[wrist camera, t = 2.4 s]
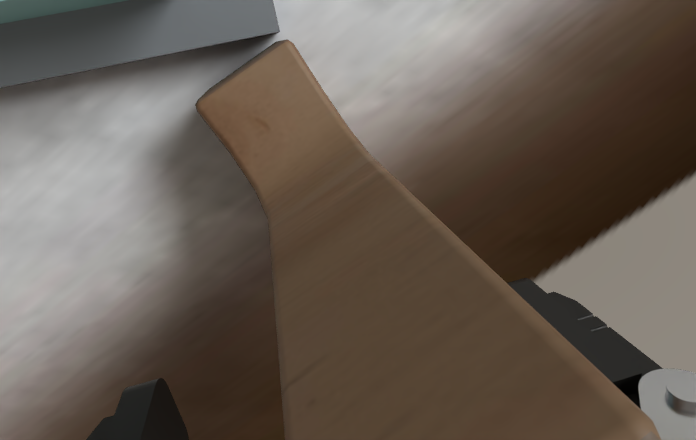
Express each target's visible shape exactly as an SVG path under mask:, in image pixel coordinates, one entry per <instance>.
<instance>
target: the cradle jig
mask: <svg viewBox="0 0 696 440" xmlns="http://www.w3.org/2000/svg"><path fill="white" fill-rule="evenodd" d="M278 32H280V30H279V26H278V21H277V17H276V12H275V8H274V3H273V0H0V88H3V87H8V86H13V85H18V84H23V83H28V82H33V81H38V80H43V79H48V78H53V77H58V76H63V75H68V74H73V73H78V72H83V71H88V70H93V69H99V68H104V67H109V66H114V65H119V64H124V63H129V62H134V61H139V60H144V59H149V58H154V57H159V56H164V55H169V54H174V53H179V52H184V51H189V50H194V49H199V48H204V47H209V46H214V45H219V44H224V43H229V42H234V41H239V40H244V39H249V38H254V37H259V36H264V35H269V34H274V33H278Z"/></svg>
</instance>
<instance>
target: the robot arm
mask: <svg viewBox="0 0 696 440" xmlns="http://www.w3.org/2000/svg"><path fill="white" fill-rule="evenodd" d="M507 284H508V285H509V286H510V287H511V288H512V289H513V290H514V291H516V292H517V293H518V294H519V295H520V296H521V297H522V298H523V299H524V300H525V301H526V302H527V303H528V304H529V305H530V306H531V307H533V308H534V309H535V310H536V311H537V312H538V313H539V314H540V315H541V316H542V317H543V318H544V319H545V320H546V321H547V322H548V323H550V324H551V325H552V326H553V327H554V328H555V329H556V330H557V331H558V332H559V333H560V334H561V335H562V336H563V337H564V338H565V339H567V340H568V341H569V342H570V343H571V344H572V345H573V346H574V347H575V348H576V349H577V350H578V351H579V352H580V353H581V354H582V355H584V356H585V357H586V358H587V359H588V360H589V361H590V362H591V363H592V364H593V365H594V366H595V367H596V368H597V369H598V370H599V371H601V372H602V373H603V374H604V375H605V376H606V377H607V378H608V379H609V380H610V381H611V382H612V383H613V384H614V385H615V386H616V387H617V388H619V389H620V390H621V391H622V392H623V393H624V394H625V395H626V396H627V397H628V398H629V399H630V400H631V401H632V402H633V403H634V404H636V405H637V406H638V407H639V408H640V409H641V410H642V411H643V412H644V413H645V414H646V415H647V416H648V417H649V418H650V419H651V420H653V423H654V425H655V427H656V429H657V431H658V433H659V436H660V438H661V440H696V373H693V372H690V371H686V370H680V369H663V368H661V367H660V366H659V365H658V364H656V363H655V362H654V361H653V360H651V359H650V358H649V357H647V356H646V355H645V354H644V353H642V352H641V351H640V350H638V349H637V348H636V347H634V346H633V345H632V344H631V343H629V342H628V341H627V340H626V339H624V338H623V337H622V336H620V335H619V334H618V333H617V332H615V331H614V330H613V329H611V328H610V327H609V328H608V327H607V325H606V324H605V323H604V322H603V321H601V320H600V319H599V318H597V317H594V316H593V314H592V313H591V312H590V311H589V310H587V309H586V308H585V307H583V306H582V305H581V304H580V303H578V302H577V301H575V300H573V299H570V298H568V297H566V296H563V295H561V294H558V293H556V292H552V293H548V294H547V293H546V292H544V291H543V290H542V289H541V288H540V287H539V286H537V285H536V284H535V283H534V282H533V281H531V280H530V279H528V278H524V279H520V280H516V281H513V282H509V283H507ZM86 440H189V439H188V433H187V430H186V427H185V424H184V422H183V420H182V417H181V415H180V413H179V411H178V408H177V406H176V404H175V402H174V399H173V397H172V395H171V392H170V390H169V388H168V386H167V384H166V382H165V381H164V380H163V379H162V378H159V379H156V380H152V381H149V382H145V383H141V384H138V385H134V386H131V387H127V388H126V389H125V390H124V391H123V393H122V396H121V399H120V401H119V404H118V407H117V409H116V412H115V415H114V416H111V417H107V418H104V419H103V420H102V421H101V422H100V424H99V425H98V426H97V427H96V428H95V430H94V431H93V432H92V433H91V435H90V436H89V437H88V438H87V439H86Z"/></svg>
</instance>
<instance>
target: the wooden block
mask: <svg viewBox="0 0 696 440" xmlns="http://www.w3.org/2000/svg"><path fill="white" fill-rule="evenodd" d="M196 109H197V111H198V113H199V114H200V115H201V117H202V118H203V119H204V120H205V122H206V123H207V124H208V125H209V127H210V128H211V129H212V131H213V132H214V133H215V134H216V136H217V137H218V138H219V140H220V141H221V142H222V143H223V145H224V146H225V147H226V148H227V150H228V151H229V152H230V154H231V155H232V157H233V158H234V160H235V161H236V163H237V164H238V166H239V167H240V169H241V170H242V172H243V173H244V175H245V176H246V178H247V179H248V181H249V182H250V184H251V185H252V187H253V188H254V190H255V191H256V193H257V196H258V198H259V200H260V203H261V205H262V207H263V209H264V212H265V214H266V216H267V218H268V226H269V239H270V251H271V264H272V277H273V290H274V303H275V315H276V328H277V341H278V354H279V366H280V379H281V392H282V405H283V417H284V430H285V440H661V438H660V436H659V433H658V431H657V429H656V427H655V425H654V423H653V420H651V419H650V418H649V417H648V416H647V415H646V414H645V413H644V412H643V411H642V410H641V409H640V408H639V407H638V406H637V405H636V404H634V403H633V402H632V401H631V400H630V399H629V398H628V397H627V396H626V395H625V394H624V393H623V392H622V391H621V390H620V389H619V388H617V387H616V386H615V385H614V384H613V383H612V382H611V381H610V380H609V379H608V378H607V377H606V376H605V375H604V374H603V373H602V372H601V371H599V370H598V369H597V368H596V367H595V366H594V365H593V364H592V363H591V362H590V361H589V360H588V359H587V358H586V357H585V356H584V355H582V354H581V353H580V352H579V351H578V350H577V349H576V348H575V347H574V346H573V345H572V344H571V343H570V342H569V341H568V340H567V339H565V338H564V337H563V336H562V335H561V334H560V333H559V332H558V331H557V330H556V329H555V328H554V327H553V326H552V325H551V324H550V323H548V322H547V321H546V320H545V319H544V318H543V317H542V316H541V315H540V314H539V313H538V312H537V311H536V310H535V309H534V308H533V307H531V306H530V305H529V304H528V303H527V302H526V301H525V300H524V299H523V298H522V297H521V296H520V295H519V294H518V293H517V292H516V291H514V290H513V289H512V288H511V287H510V286H509V285H508V284H507V283H506V282H505V281H504V280H503V279H502V278H501V277H500V276H499V275H498V274H496V273H495V272H494V271H493V270H492V269H491V268H490V267H489V266H488V265H487V264H486V263H485V262H484V261H483V260H482V259H481V258H479V257H478V256H477V255H476V254H475V253H474V252H473V251H472V250H471V249H470V248H469V247H468V246H467V245H466V244H465V243H464V242H462V241H461V240H460V239H459V238H458V237H457V236H456V235H455V234H454V233H453V232H452V231H451V230H450V229H449V228H448V227H447V226H445V225H444V224H443V223H442V222H441V221H440V220H439V219H438V218H437V217H436V216H435V215H434V214H433V213H432V212H431V211H430V210H428V209H427V208H426V207H425V206H424V205H423V204H422V203H421V202H420V201H419V200H418V199H417V198H416V197H415V196H414V195H413V194H411V193H410V192H409V191H408V190H407V189H406V188H405V187H404V186H403V185H402V184H401V183H400V182H399V181H398V180H397V179H396V178H395V177H393V176H392V175H391V174H390V173H389V172H388V171H387V170H386V169H385V168H384V167H383V166H382V165H381V164H380V163H379V162H378V161H376V160H375V159H374V158H373V157H372V156H371V155H370V154H369V153H368V151H367V150H366V149H365V148H364V146H363V145H362V144H361V143H360V141H359V140H358V139H357V137H356V136H355V135H354V134H353V132H352V131H351V130H350V129H349V127H348V126H347V124H346V123H345V122H344V120H343V119H342V117H341V116H340V114H339V113H338V111H337V110H336V108H335V107H334V105H333V104H332V102H331V101H330V100H329V98H328V97H327V95H326V94H325V92H324V91H323V89H322V88H321V86H320V85H319V83H318V81H317V80H316V78H315V77H314V75H313V74H312V72H311V71H310V69H309V67H308V66H307V64H306V63H305V61H304V60H303V58H302V56H301V55H300V53H299V52H298V50H297V49H296V47H295V45H294V44H293V43H292V42H290V41H289V40H283V41H278V42H275V43H274V44H272V45H271V46H270V47H268V48H267V49H265V50H264V51H263V52H261V53H260V54H258V55H257V56H255V57H254V58H253V59H251V60H250V61H248V62H247V63H246V64H244V65H243V66H241V67H240V68H238V69H237V70H236V71H234V72H233V73H231V74H230V75H229V76H227V77H226V78H224V79H223V80H222V81H220V82H219V83H217V84H216V85H214V86H213V87H212V88H210V89H209V90H208V91H207V92H206V93H205V94H204V95H203V96H202V97H201V98H200V99H199V100H198V101H197V103H196Z"/></svg>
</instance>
